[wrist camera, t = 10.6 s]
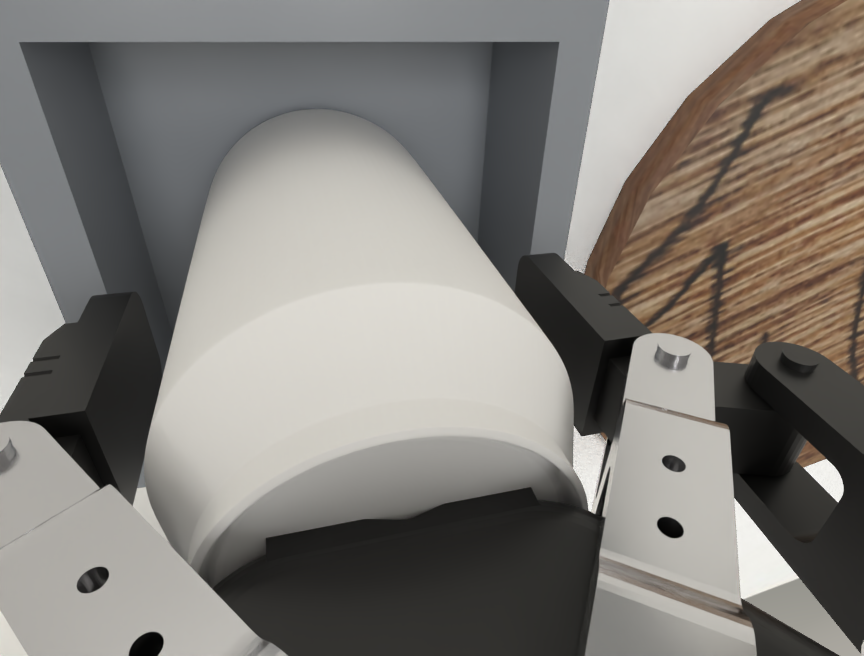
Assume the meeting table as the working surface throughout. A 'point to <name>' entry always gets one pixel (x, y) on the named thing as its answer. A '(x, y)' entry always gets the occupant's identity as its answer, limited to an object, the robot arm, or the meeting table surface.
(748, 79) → the trivet
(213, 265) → the beverage can
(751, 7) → the meeting table surface
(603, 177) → the meeting table surface
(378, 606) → the robot arm
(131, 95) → the bin
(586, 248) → the meeting table surface
